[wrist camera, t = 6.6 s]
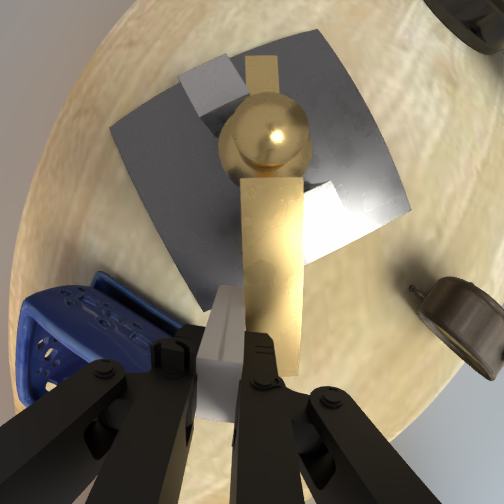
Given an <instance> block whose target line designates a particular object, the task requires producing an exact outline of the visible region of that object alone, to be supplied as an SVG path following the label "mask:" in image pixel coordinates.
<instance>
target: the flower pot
mask: <svg viewBox="0 0 504 504" xmlns="http://www.w3.org/2000/svg"><path fill="white" fill-rule="evenodd" d="M182 326H184V324H182V323H181V322H179V321H177V320H176V319H174V318H173V317H171V316H169V315H168V314H166V313H165V312H163V311H162V310H160V309H158V308H157V307H155V306H154V305H152V304H151V303H149V302H148V301H146V300H145V299H143V298H141V297H140V296H139V295H137V294H136V293H134V292H133V291H131V290H130V289H128V288H127V287H125V286H124V285H122V284H121V283H120V282H118V281H117V280H115V279H114V278H112V277H111V276H110V275H108V274H106V273H105V272H102V271H98V272H97V273H96V274H95V276H94V278H93V280H92V283H91V286H90V287H87V286H80V285H67V286H59V287H54V288H50V289H47V290H43V291H40V292H37V293H35V294H33V295H31V296H29V297H27V298H26V299H25V300H24V301H23V303H22V306H21V310H20V316H19V322H18V330H17V342H16V363H15V366H16V386H17V392H18V397H19V400H20V401H21V402H22V403H23V404H24V405H25V406H26V407H28V406H30V405H31V404H33V403H34V402H35V401H37V400H38V399H40V398H41V397H42V396H44V395H45V394H46V393H48V392H49V391H47V390H46V389H45V387H46V384H47V382H50V383H53V384H55V385H57V386H58V385H59V384H60V383H62V382H63V381H65V380H66V379H67V378H69V377H70V376H72V375H73V374H74V373H76V372H77V371H79V370H80V369H81V368H83V367H84V366H86V365H87V364H88V363H90V362H92V361H94V360H98V359H112V360H115V361H118V362H119V363H121V364H122V365H123V367H124V368H125V372H126V373H143V372H148V371H150V369H151V354H150V345H151V344H152V343H153V342H154V341H156V340H159V339H163V338H174V337H175V335H176V333H177V331H178V329H179V328H181V327H182ZM42 339H43V341H42V342H41V343H39V342H40V341H41V340H42ZM38 343H39V344H38ZM50 348H53V350H52V351H51V353H50V354H49V355H48V356H47V357H45V354H46V353H47V351H48V350H49V349H50Z"/></svg>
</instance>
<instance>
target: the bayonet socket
mask: <svg viewBox="0 0 504 504" xmlns="http://www.w3.org/2000/svg"><path fill="white" fill-rule="evenodd" d="M259 55H274V56H277V61H278V76H279V93H280V94H283V95H286V96H288V97H290V98H291V99H293V100H294V101H295V102H297V103H298V104H299V105H300V107H301V108H302V109H303V111H304V112H305V114H306V117H307V119H308V124H309V133H310V136H311V140H312V155H311V160H310V163H309V165H308V167H307V169H306V171H305V172H304V174H303V175H302V176H301V177H303V188H304V260H303V266H304V265H306V264H309V263H311V262H313V261H315V260H317V259H319V258H321V257H323V256H325V255H327V254H329V253H331V252H333V251H335V250H337V249H339V248H341V247H343V246H345V245H347V244H348V243H350V242H352V241H354V240H356V239H358V238H360V237H362V236H364V235H366V234H368V233H370V232H372V231H374V230H376V229H377V228H379V227H381V226H383V225H385V224H387V223H389V222H391V221H393V220H394V219H396V218H398V217H400V216H402V215H404V214H406V213H407V212H409V211H411V207H410V204H409V201H408V198H407V195H406V192H405V190H404V187H403V184H402V182H401V179H400V176H399V174H398V171H397V169H396V166H395V164H394V162H393V159H392V157H391V155H390V152H389V150H388V148H387V146H386V143H385V141H384V139H383V137H382V135H381V133H380V131H379V128H378V126H377V124H376V122H375V120H374V118H373V116H372V115H371V113H370V111H369V109H368V107H367V105H366V103H365V101H364V100H363V98H362V96H361V94H360V92H359V91H358V89H357V87H356V86H355V84H354V82H353V80H352V79H351V77H350V76H349V74H348V72H347V71H346V69H345V67H344V66H343V64H342V63H341V61H340V60H339V58H338V57H337V55H336V54H335V52H334V51H333V49H332V48H331V46H330V45H329V44H328V42H327V41H326V39H325V38H324V37H323V35H322V34H321V33H320V31H319V30H318V29H315V30H311V31H308V32H304V33H300V34H297V35H293V36H290V37H287V38H283V39H280V40H277V41H274V42H271V43H268V44H265V45H263V46H260V47H257V48H254V49H252V50H249V51H247V52H244V53H242V54H239V55H237V56H234V57H232V58H230V59H229V58H228V56H227V54H223V55H221V56H219V57H216V58H214V59H212V60H210V61H208V62H206V63H204V64H202V65H199V66H197V67H195V68H193V69H191V70H190V71H188V72H186V73H184V74H182V75H180V76H178V78H179V80H180V83H178V84H177V85H175V86H173V87H171V88H170V89H168V90H166V91H164V92H163V93H161V94H159V95H158V96H156V97H154V98H153V99H151V100H149V101H148V102H146V103H145V104H143V105H142V106H140V107H138V108H137V109H135V110H134V111H132V112H131V113H129V114H128V115H127V116H125V117H124V118H122V119H121V120H119V121H118V122H117V123H115V124H114V125H112V126H111V127H110V128H109V129H110V131H111V133H112V136H113V138H114V141H115V143H116V145H117V148H118V150H119V152H120V154H121V157H122V159H123V161H124V163H125V166H126V168H127V170H128V172H129V174H130V176H131V178H132V181H133V183H134V185H135V187H136V189H137V191H138V193H139V195H140V197H141V199H142V201H143V203H144V205H145V207H146V209H147V211H148V213H149V215H150V217H151V219H152V221H153V223H154V225H155V227H156V229H157V231H158V233H159V235H160V237H161V238H162V240H163V242H164V244H165V246H166V248H167V250H168V251H169V253H170V255H171V257H172V259H173V261H174V262H175V264H176V266H177V268H178V269H179V271H180V273H181V275H182V277H183V278H184V280H185V282H186V283H187V285H188V287H189V289H190V290H191V292H192V294H193V295H194V297H195V299H196V300H197V302H198V304H199V305H200V307H201V309H202V310H203V312H206V311H208V310H210V309H212V306H213V303H214V300H215V297H216V294H217V291H218V288H219V285H220V284H222V285H230V286H238V287H244V278H243V252H242V223H241V192H240V184H238V183H237V182H235V181H234V180H233V179H232V178H231V177H230V176H229V175H228V173H227V172H226V171H225V169H224V167H223V165H222V163H221V160H220V157H219V151H218V142H219V136H220V133H221V130H222V128H223V126H224V124H225V123H226V121H227V120H228V119H229V118H230V117H231V116H232V115H233V114H234V112H235V110H236V109H237V107H238V106H239V105H240V104H241V103H242V102H243V101H244V100H245V99H246V98H247V97H249V96H250V92H249V90H248V89H247V87H246V69H245V56H259Z"/></svg>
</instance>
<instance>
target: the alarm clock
mask: <svg viewBox="0 0 504 504" xmlns="http://www.w3.org/2000/svg"><path fill="white" fill-rule="evenodd" d="M409 291H411V292H413V293H414V294H415V295H416V296H417V297H418V298H419V299H420V300H422V304H421V305H420V306H419V308H418V309H417V310H416V312H417V315H418V317H419V318H420V319H421V320H422V322H423V323H424V324H425V325H426V326H427V327H428V328H429V329H430V330H431V331H432V332H433V333H434V334H435V335H436V336H437V337H438V338H439V339H440V340H441V341H443V342H444V343H445V344H446V345H447V346H448V347H449V348H450V349H451V350H452V351H453V352H454V353H456V354H457V355H458V356H459V357H460V358H461V359H462V360H464V361H465V362H466V363H467V364H469V366H471V367H472V368H473V369H474V370H475V371H477V372H478V373H479V374H481V375H482V376H483V377H485V378H486V379H487V380H489V381H493V380H495V378H496V376H497V375H498V374H499V372H500V371H501V369H502V368H503V366H504V309H503V308H502V307H501V306H500V305H499V304H498V303H497V302H496V301H495V300H494V299H493V298H492V297H490V296H489V295H488V294H487V293H485V292H484V291H483V290H481V289H480V288H478V287H476V286H475V285H474V284H473V283H472V282H467V281H465V280H463V279H460V278H456V277H444V278H441V279H439V280H438V281H437V282H436V284H435V285H434V287H433V288H432V290H431V291H430V292H429V294H428V295H425V294H424V293H423V292H421V291H419V290H417V289H415V286H413V285H411V286H410V287H409Z"/></svg>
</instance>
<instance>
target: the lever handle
mask: <svg viewBox="0 0 504 504" xmlns="http://www.w3.org/2000/svg"><path fill="white" fill-rule="evenodd" d="M245 69H246V87H247V89H248V90H249V92H250V96H249V97H247V98H246V99H245V100H244V101H243V102H242V103H241V104H240V105H239V106H238V107H237V109H236V110H235V112H234V114H233V115H232V116H231V117H230V118H229V119H228V120H227V121H226V123H225V124H224V126H223V128H222V130H221V133H220V136H219V142H218V151H219V157H220V160H221V163H222V165H223V167H224V169H225V171H226V172H227V173H228V175H229V176H230V177H231V178H232V179H233V180H234V181H235V182H237V183H238V184H240V192H241V223H242V252H243V278H244V303H245V327H246V331H250V332H260V333H268V335H269V336H270V337H271V338H272V339H273V342H274V349H275V355H276V362H277V369H278V376H279V377H287V376H298V369H299V355H300V339H301V320H302V297H303V260H304V188H303V177H301V176H302V175H303V174H304V172H305V171H306V169H307V167H308V165H309V163H310V160H311V155H312V140H311V136H310V133H309V124H308V119H307V117H306V114H305V112H304V111H303V109H302V108H301V107H300V105H299V104H298V103H297V102H295V101H294V100H293V99H291V98H290V97H288V96H286V95H283V94H280V93H279V76H278V61H277V56H274V55H259V56H245Z"/></svg>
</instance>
